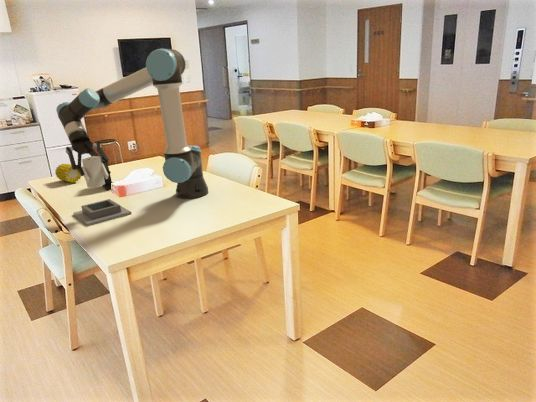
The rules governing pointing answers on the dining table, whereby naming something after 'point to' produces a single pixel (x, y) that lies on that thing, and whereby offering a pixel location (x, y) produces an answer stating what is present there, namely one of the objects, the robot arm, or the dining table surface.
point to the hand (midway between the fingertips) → (97, 179)
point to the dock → (100, 212)
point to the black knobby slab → (107, 180)
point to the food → (67, 173)
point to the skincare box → (94, 171)
